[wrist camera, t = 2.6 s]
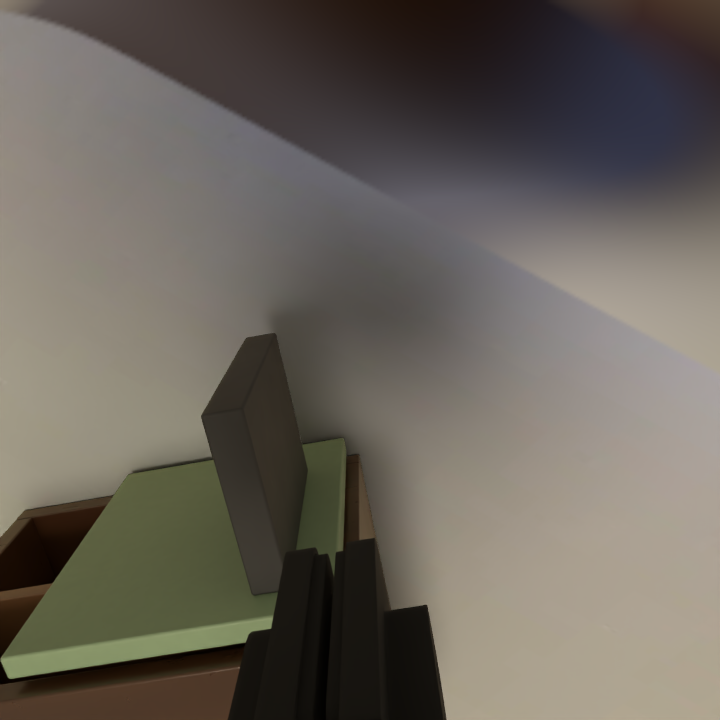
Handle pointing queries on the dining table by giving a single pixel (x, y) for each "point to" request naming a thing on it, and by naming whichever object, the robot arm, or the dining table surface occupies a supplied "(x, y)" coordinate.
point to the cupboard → (128, 678)
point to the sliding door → (195, 536)
